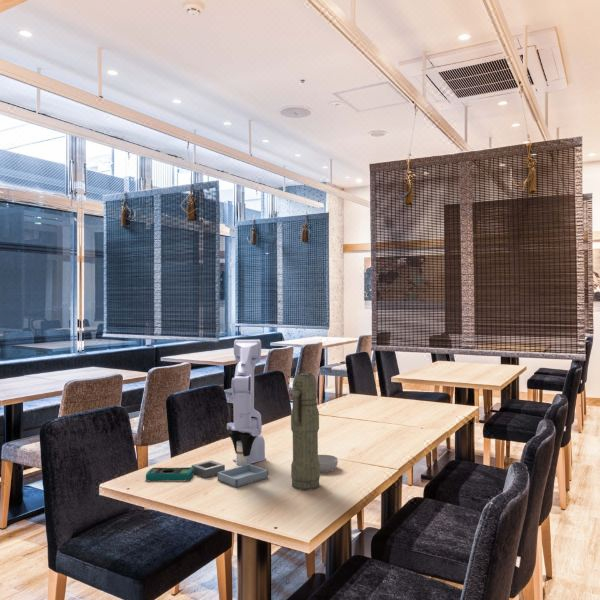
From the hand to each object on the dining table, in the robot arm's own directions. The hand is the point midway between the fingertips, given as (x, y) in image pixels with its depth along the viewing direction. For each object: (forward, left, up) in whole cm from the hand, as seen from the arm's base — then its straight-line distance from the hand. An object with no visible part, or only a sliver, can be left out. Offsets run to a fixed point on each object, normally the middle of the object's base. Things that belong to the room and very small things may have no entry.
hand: (242, 454), depth 177 cm
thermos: (-10, +19, -8) cm, 23 cm away
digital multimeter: (+16, -19, -9) cm, 26 cm away
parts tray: (0, 0, -8) cm, 8 cm away
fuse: (0, 0, -3) cm, 3 cm away
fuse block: (+4, -14, -8) cm, 17 cm away
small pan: (-26, +7, -8) cm, 28 cm away
